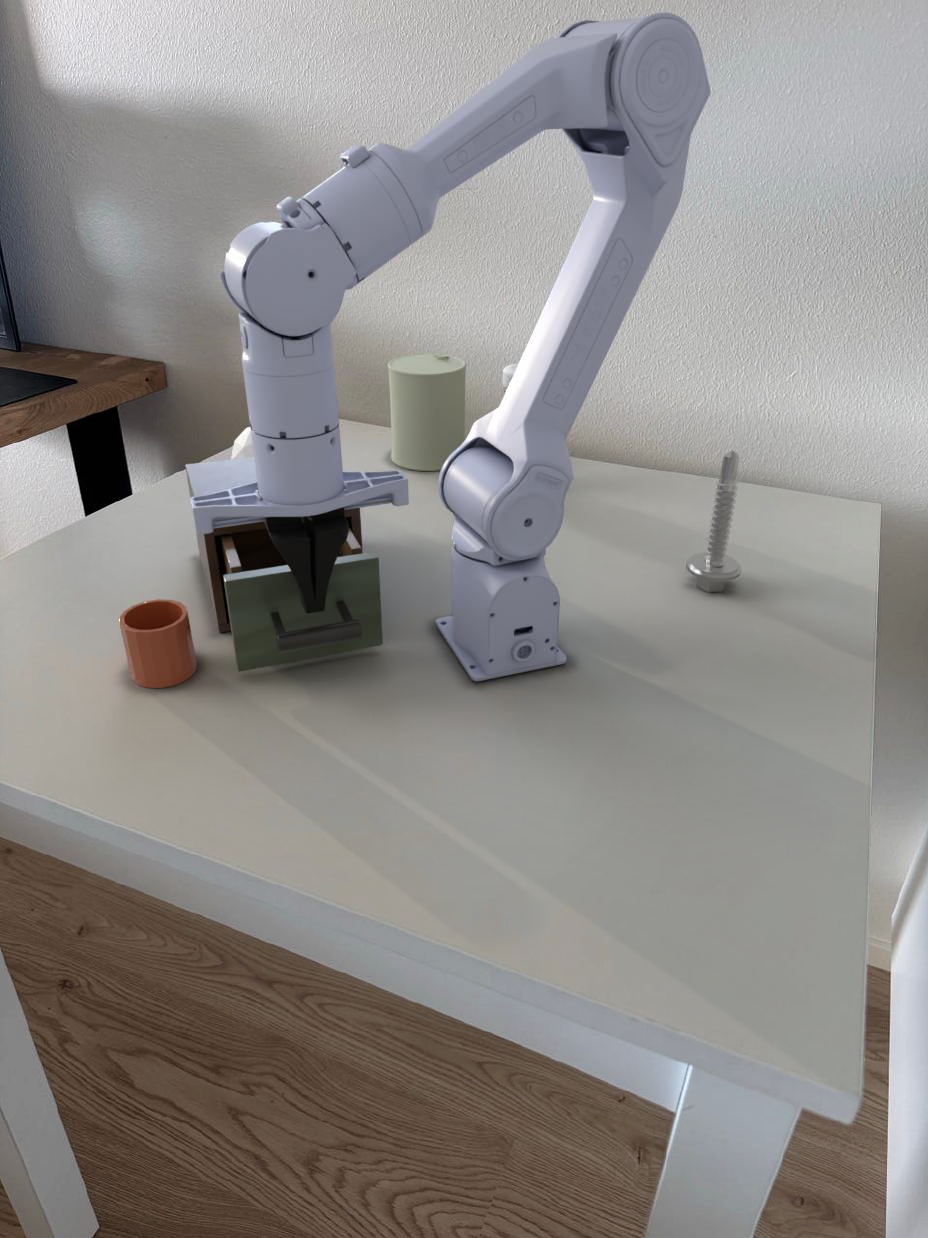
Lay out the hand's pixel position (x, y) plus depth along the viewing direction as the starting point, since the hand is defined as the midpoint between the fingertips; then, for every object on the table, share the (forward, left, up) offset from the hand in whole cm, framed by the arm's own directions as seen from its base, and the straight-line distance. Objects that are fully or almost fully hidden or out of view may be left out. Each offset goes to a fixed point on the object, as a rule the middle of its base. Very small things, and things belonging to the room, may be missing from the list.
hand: (312, 606), depth 66 cm
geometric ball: (+39, -3, -7) cm, 40 cm away
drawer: (+6, 0, -6) cm, 9 cm away
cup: (+6, +11, -7) cm, 14 cm away
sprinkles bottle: (+31, -30, -7) cm, 44 cm away
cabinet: (+17, 0, -7) cm, 18 cm away
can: (+43, -23, -7) cm, 49 cm away
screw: (+3, -37, -7) cm, 38 cm away
